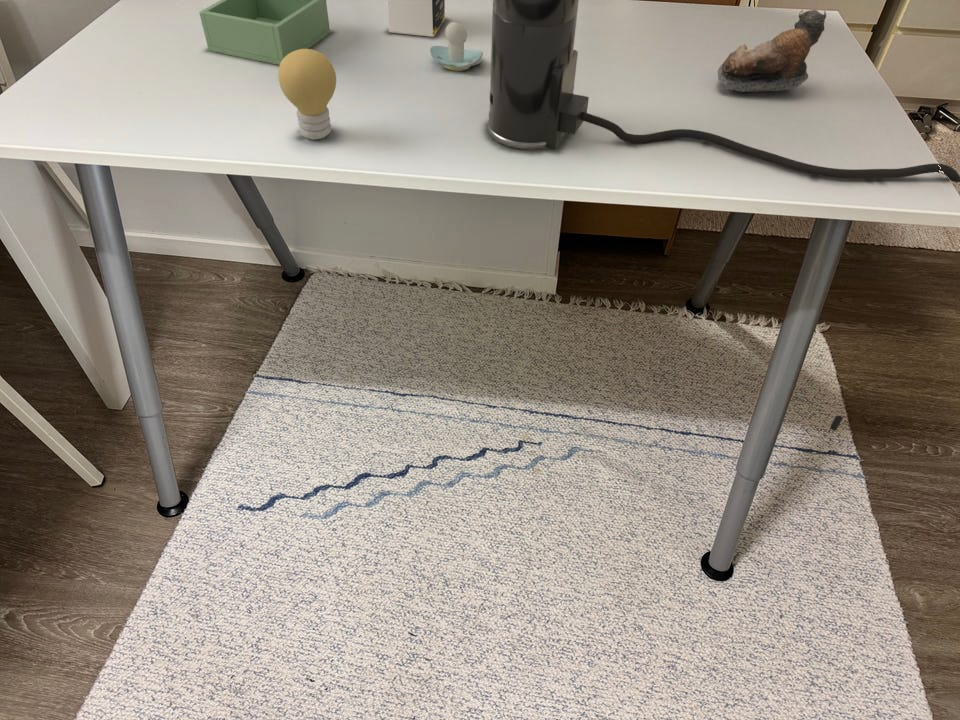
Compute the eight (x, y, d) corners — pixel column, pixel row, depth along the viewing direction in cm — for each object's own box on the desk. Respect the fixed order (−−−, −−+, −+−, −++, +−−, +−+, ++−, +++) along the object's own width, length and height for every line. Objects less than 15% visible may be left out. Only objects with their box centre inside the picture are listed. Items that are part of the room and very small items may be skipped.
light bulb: (279, 132, 88) (263, 49, 81) (324, 116, 91) (312, 35, 84) (307, 153, 84) (293, 69, 77) (353, 136, 87) (343, 53, 80)
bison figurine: (721, 100, 96) (743, 21, 89) (707, 76, 101) (726, 0, 94) (810, 100, 97) (838, 21, 89) (792, 76, 102) (817, 0, 94)
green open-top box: (330, 33, 109) (325, -5, 105) (284, 66, 101) (277, 27, 97) (258, 19, 112) (251, -18, 108) (208, 50, 104) (198, 11, 100)
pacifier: (437, 54, 105) (427, 70, 100) (437, 8, 100) (426, 23, 96) (487, 59, 104) (479, 76, 99) (489, 13, 99) (480, 29, 95)
